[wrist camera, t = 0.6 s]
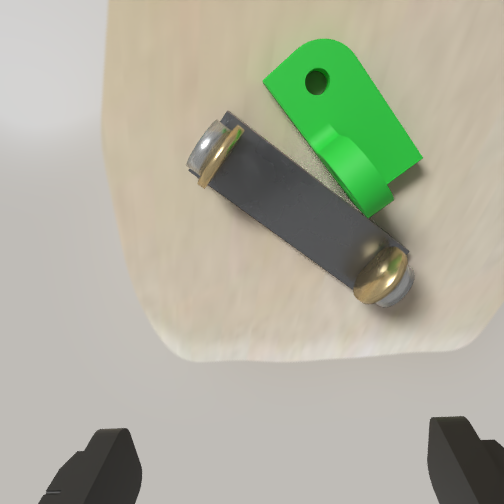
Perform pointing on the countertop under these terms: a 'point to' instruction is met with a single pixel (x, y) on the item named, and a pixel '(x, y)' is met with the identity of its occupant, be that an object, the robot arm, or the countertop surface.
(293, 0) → the countertop surface
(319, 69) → the mechanical part
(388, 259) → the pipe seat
